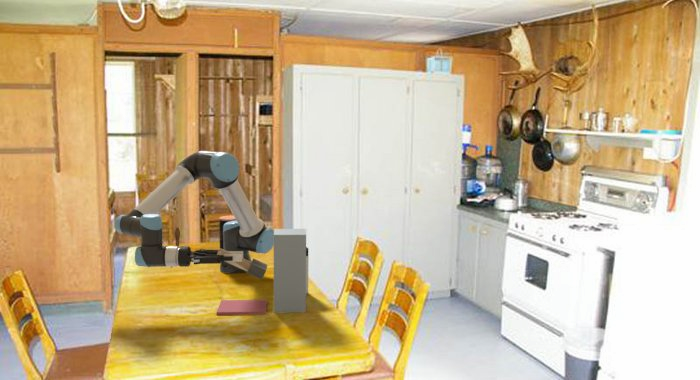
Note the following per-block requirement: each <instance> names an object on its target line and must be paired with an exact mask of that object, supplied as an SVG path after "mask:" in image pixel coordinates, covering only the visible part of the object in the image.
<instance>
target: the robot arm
mask: <svg viewBox="0 0 700 380" xmlns="http://www.w3.org/2000/svg"><path fill="white" fill-rule="evenodd" d="M239 174H240V163H239V160H238V158H236V156H235V155H233V154H232V153H229V152H225V151H215V150H214V151H213V150H212V151H211V150H199V151H195V152H194V153H192V154H190V155H188V156H186V158H184V159H183V160H182V161H180V162H179V163H178V164H177V165H176V166H175V167H174V171H173V172H172V173H171V174H170V175H169V176H168V177H167V178H165V180H164V181H162V182H161V183H160V184H159V185H158V186H157V187H156V188H155V189H153V191H151V193H149V194H148V195H147V196H146V197H145V198H144V199H143V200H142V201H141V202H140V203H139V204H137V206H135V207H134V209H132V210H131V211H130V212H129V213H128V214H126V213H125V214H120V215H119V216H117V217H116V219H115V220H114V229H115V230H116V232H117V233H119V234H122V235H124V236H129V237H135V238H139V239H140V245H139V246H137V247H136V248H135V251H134V263H135V264H136V266H138V267H148V268H152V267H153V268H155V267H157V268H158V267H159V268H160V267H166V268H167V267H170V269H173V268H174V267H178V266H179V267H180V268H181V267H182V268H183V267H185V268H186V267H188V268H189V267H190V266H191V263H193V265H205V264H206V265H207V264H209V265H212V264H213V265H215V264H217V265H218V264H219V270H220V272H221V273H226V274H235V275H236V274H244V273H247V271H245V270H243V269H240V268H238V267H236V266H234V265H231V264H229V263H227V262H242V258H243V259H246V260H248V261H250V262H252V257H251V255H250V252H251V253H256V254H267V253H270V252H271V250H272V249H273V248H274V230H273V229H271V227H266V224H265V222H264V221H263V219H261V218H258V217H257V215H256V213H255V210H254V209H253V207H252V205H251V203H250V201H249V199H248V197H247V195H246V193H245V191H244V190H243V188H242V186H241V184H240V182H239V177H240V175H239ZM200 179H203V180H204V179H205V180H209V182H210V183H211V185H212V187H213V188H214V189H215V190H219V192H220V193H221V196H222V197H223V199H224V201H225V202H226V203H225V204H226V205H227V206H228V208H229V210H230V211H231V213H232V215H233V216H234V217H235V219H236V221H230V222H226V223H225V224H224V226H223V247H224V250H226V251H228V252H230V253H232V254H224V255H217V253H218V251H219V249H206V248H199V249H197V250H196V249H195V251H192V249H191V246H182V245H181V246H179V247H180V248H179V247H178V246H176V245H173V246H171V245H170V246H169V245H168V246H163V245H164V244H163V243H164V242H163V227H164V226H163V219H162V215H160V214H159V213H160V212H161V211H162V210H163V209H164V208H165V207H166V206H167V205H168V204H169V203H170V202H171V201H172V200H173V199H174V198H175V197H177V196H178V194H179V193H180V192H182V191H183V189H185V188H186V187H187V186H188V185H192V184H193V183H194V182H195V181H197V180H200Z"/></svg>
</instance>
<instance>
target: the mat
mask: <svg viewBox="0 0 700 380" xmlns="http://www.w3.org/2000/svg"><path fill="white" fill-rule="evenodd" d="M267 307H268V299H228V300H226V299H225V300H224V299H221V300H220V303H219V304H218V308H217V310H216V313H215V314H216V316H225V315H226V316H230V315H231V316H233V315H235V316H237V315H240V316H241V315H242V316H243V315H266V314H267Z"/></svg>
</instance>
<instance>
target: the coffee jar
mask: <svg viewBox="0 0 700 380" xmlns="http://www.w3.org/2000/svg"><path fill="white" fill-rule="evenodd" d="M218 219H219V229H218V230H219V231H218V232H219V249H220V248H221V249H223V250H224V247H223V226H224V224H225V223H226V222H230V221H236V219H235V217H234V215H233V214H232V215H221V216H220V217H219V218H218Z"/></svg>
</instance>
